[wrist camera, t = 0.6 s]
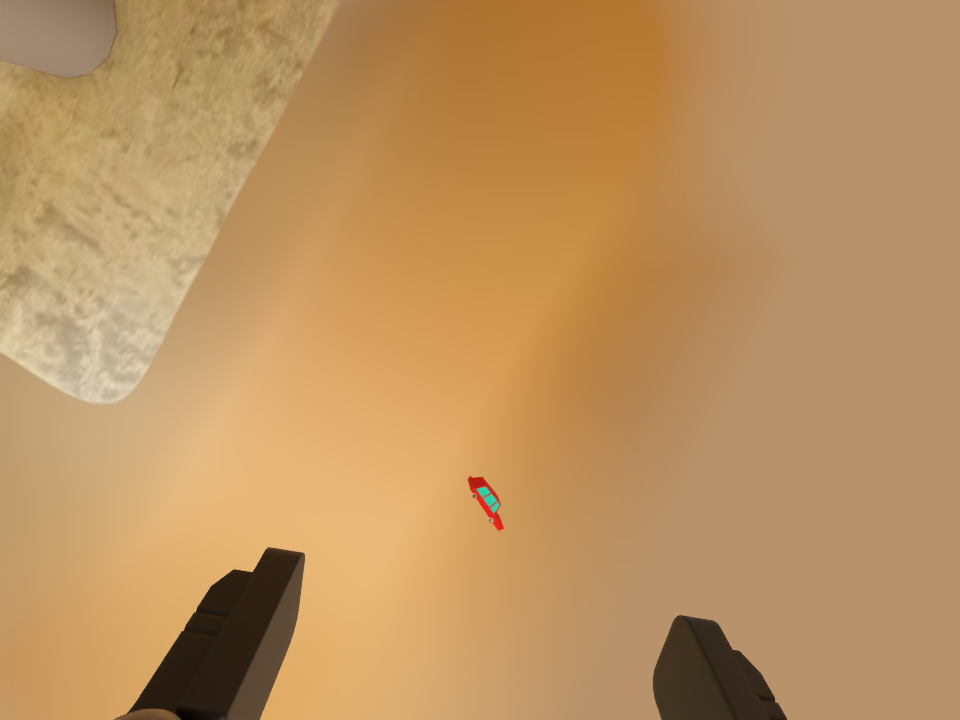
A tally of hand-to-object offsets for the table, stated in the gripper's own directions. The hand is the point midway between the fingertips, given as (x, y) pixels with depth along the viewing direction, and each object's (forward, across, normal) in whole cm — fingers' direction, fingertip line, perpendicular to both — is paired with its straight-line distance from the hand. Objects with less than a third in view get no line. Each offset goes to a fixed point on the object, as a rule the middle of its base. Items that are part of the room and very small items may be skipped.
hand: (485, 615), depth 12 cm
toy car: (+95, -13, +58) cm, 112 cm away
